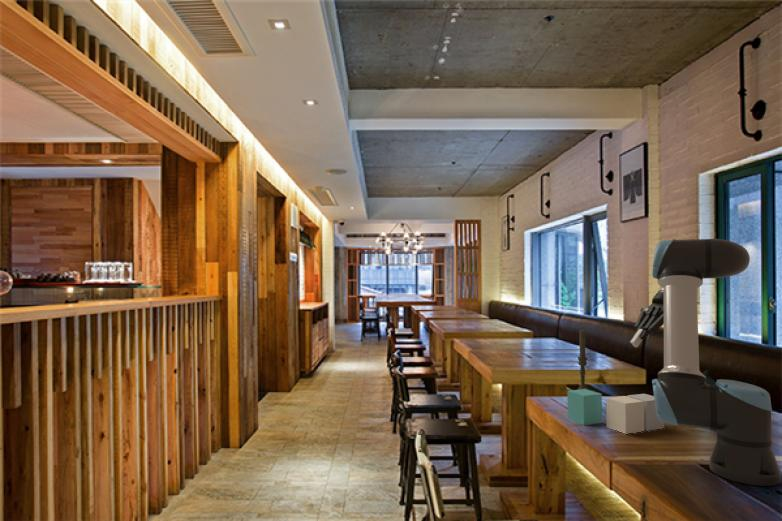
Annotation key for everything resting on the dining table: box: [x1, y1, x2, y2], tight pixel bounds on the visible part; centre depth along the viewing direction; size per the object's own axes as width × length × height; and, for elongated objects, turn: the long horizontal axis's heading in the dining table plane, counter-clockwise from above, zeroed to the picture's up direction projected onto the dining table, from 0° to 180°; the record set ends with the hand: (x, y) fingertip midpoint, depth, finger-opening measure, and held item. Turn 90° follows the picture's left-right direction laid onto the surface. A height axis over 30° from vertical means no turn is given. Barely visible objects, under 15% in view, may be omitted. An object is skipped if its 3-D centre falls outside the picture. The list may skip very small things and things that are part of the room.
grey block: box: [626, 393, 665, 432], centre depth 171 cm, size 8×8×10 cm
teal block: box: [567, 388, 603, 426], centre depth 178 cm, size 8×8×10 cm
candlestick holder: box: [577, 328, 589, 390], centre depth 199 cm, size 9×9×30 cm
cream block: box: [606, 395, 645, 435], centre depth 167 cm, size 8×8×10 cm
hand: (633, 344), depth 183 cm, fingers closed
